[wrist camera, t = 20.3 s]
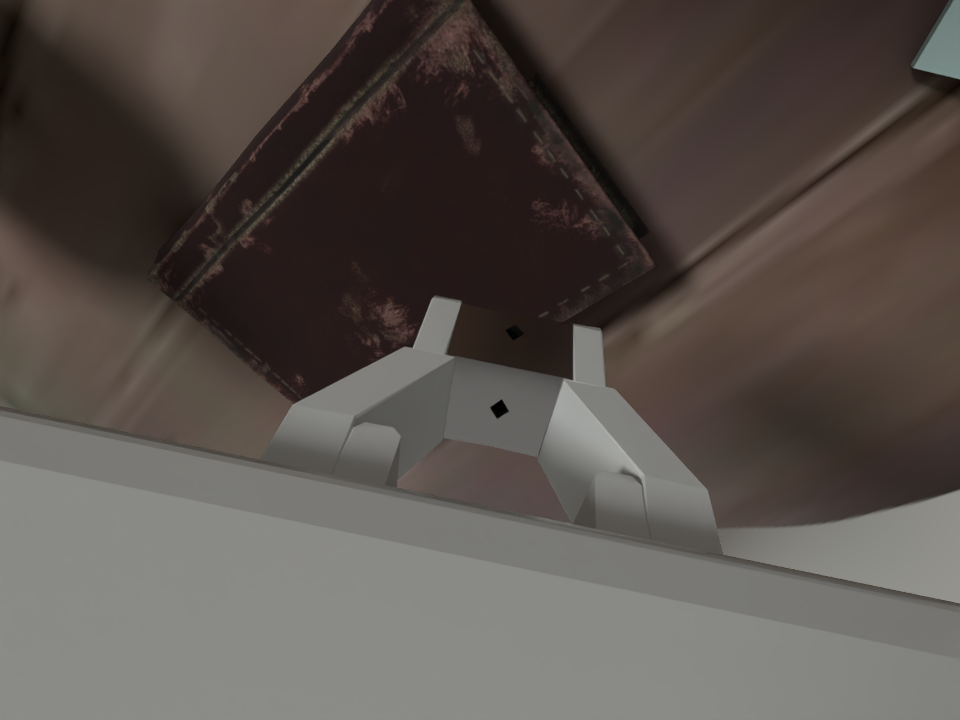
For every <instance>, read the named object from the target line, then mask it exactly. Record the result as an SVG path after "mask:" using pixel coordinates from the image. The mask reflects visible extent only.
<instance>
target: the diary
mask: <svg viewBox="0 0 960 720" xmlns="http://www.w3.org/2000/svg"><path fill="white" fill-rule="evenodd" d="M647 233H649V231H648V229H647V228H646V226H645V225H644V224H643V222H642V221H641V219H640V218H639V217H638V215H637V214H636V212H635V211H634V209H633V208H632V207H631V205H630V204H629V202H628V201H627V200H626V198H625V197H624V195H623V194H622V193H621V191H620V190H619V188H618V187H617V186H616V184H615V183H614V181H613V180H612V179H611V177H610V176H609V174H608V173H607V172H606V170H605V169H604V167H603V166H602V165H601V163H600V162H599V160H598V159H597V157H596V156H595V155H594V153H593V152H592V150H591V149H590V148H589V146H588V145H587V143H586V142H585V141H584V139H583V138H582V136H581V135H580V134H579V132H578V131H577V129H576V128H575V127H574V125H573V124H572V122H571V121H570V120H569V118H568V117H567V115H566V114H565V113H564V111H563V110H562V108H561V107H560V105H559V104H558V103H557V101H556V100H555V98H554V97H553V96H552V94H551V93H550V91H549V90H548V89H547V87H546V86H545V84H544V83H543V82H542V80H541V79H540V77H539V76H538V75H537V73H536V74H535V75H534V76H533V78H532V79H531V80H530V81H529V82H527V80H526V79H525V77H524V76H523V75H522V73H521V72H520V70H519V69H518V67H517V66H516V65H515V63H514V62H513V60H512V59H511V57H510V56H509V54H508V53H507V52H506V50H505V49H504V47H503V46H502V44H501V43H500V42H499V40H498V39H497V37H496V36H495V34H494V33H493V31H492V30H491V29H490V27H489V26H488V24H487V23H486V21H485V20H484V18H483V17H482V16H481V14H480V13H479V11H478V10H477V8H476V7H475V5H474V4H473V3H472V1H471V0H372V1H371V2H370V3H369V5H368V6H367V7H366V8H365V10H364V11H363V12H362V13H361V14H360V16H359V17H358V18H357V19H356V21H355V22H354V23H353V24H352V26H351V27H350V28H349V29H348V31H347V32H346V33H345V34H344V35H343V37H342V38H341V39H340V40H339V42H338V43H337V44H336V45H335V47H334V48H333V49H332V50H331V51H330V53H329V54H328V55H327V56H326V57H325V58H324V59H323V61H322V62H321V63H320V64H319V65H318V66H317V67H316V68H315V70H314V71H313V72H312V73H311V74H310V75H309V76H308V77H307V79H306V80H305V81H304V82H303V83H302V84H301V85H300V87H299V88H298V89H297V90H296V91H295V92H294V93H293V94H292V96H291V97H290V98H289V99H288V100H287V101H286V102H285V103H284V105H283V106H282V107H281V108H280V109H279V110H278V111H277V113H276V114H275V115H274V116H273V117H272V118H271V119H270V120H269V122H268V123H267V124H266V125H265V126H264V127H263V128H262V129H261V131H260V132H259V133H258V134H257V135H256V136H255V138H254V139H253V140H252V142H251V143H250V144H249V145H248V147H247V148H246V149H245V150H244V152H243V153H242V154H241V155H240V157H239V158H238V159H237V160H236V162H235V163H234V164H233V165H232V167H231V168H230V169H229V171H228V172H227V173H226V174H225V176H224V177H223V178H222V179H221V181H220V182H219V183H218V184H217V186H216V187H215V188H214V189H213V191H212V192H211V193H210V194H209V196H208V197H207V198H206V200H205V201H204V202H203V203H202V204H201V205H200V206H199V207H198V208H197V210H196V211H195V212H194V213H193V214H192V215H191V216H190V217H189V218H188V219H187V221H186V222H185V223H184V224H183V225H182V226H181V227H180V228H179V229H178V230H177V231H176V233H175V234H174V235H173V236H172V237H171V238H170V239H169V240H168V241H167V242H166V244H165V245H164V246H163V247H162V248H161V249H160V250H159V252H158V255H157V258H156V260H155V263H154V265H153V267H152V268H151V269H150V270H149V271H148V273H147V278H148V280H149V281H150V282H152V283H153V284H154V285H155V286H156V287H158V288H159V289H160V290H161V291H162V292H164V293H165V294H166V295H167V296H168V297H170V298H171V299H172V300H174V301H177V302H178V305H179V306H180V307H182V308H183V309H184V310H185V311H186V312H188V313H189V314H190V315H191V316H192V317H194V318H195V319H196V320H197V321H198V322H200V323H201V324H202V325H203V326H204V327H206V328H207V329H208V330H209V331H210V332H211V333H212V334H213V335H215V336H216V337H217V338H218V339H219V340H220V341H221V342H222V343H223V344H225V345H226V346H227V347H228V348H229V349H230V350H231V351H232V352H233V353H234V354H236V355H237V356H238V357H239V358H240V359H241V360H242V361H243V362H244V363H246V364H247V365H248V366H249V367H250V368H251V369H252V370H253V371H255V372H256V373H257V374H258V375H259V376H261V377H262V378H263V379H264V380H265V381H267V382H268V383H269V384H270V385H271V386H273V387H274V388H275V389H276V390H277V391H279V392H280V393H281V394H282V395H283V396H285V397H286V398H287V399H288V400H289V401H291V402H292V403H293V404H295V403H297V402H299V401H301V400H303V399H304V398H306V397H308V396H310V395H312V394H314V393H316V392H318V391H320V390H322V389H324V388H326V387H328V386H330V385H332V384H333V383H335V382H337V381H339V380H341V379H343V378H345V377H347V376H349V375H351V374H353V373H355V372H357V371H359V370H360V369H362V368H364V367H366V366H368V365H370V364H372V363H374V362H376V361H378V360H380V359H382V358H384V357H386V356H388V355H389V354H391V353H393V352H395V351H397V350H399V349H401V348H403V347H409V348H413V346H414V343H415V341H416V338H417V336H418V333H419V330H420V328H421V325H422V323H423V320H424V318H425V315H426V312H427V310H428V307H429V305H430V302H431V300H432V298H433V297H434V296H440V297H446V298H451V299H456V300H461V301H462V303H463V301H465V302H469V303H474V304H478V305H483V306H487V307H492V308H496V309H501V310H505V311H510V312H514V313H517V314H520V315H526V316H531V317H537V318H542V319H548V320H553V321H559V322H564V321H566V320H567V319H569V318H571V317H572V316H574V315H576V314H577V313H579V312H581V311H582V310H584V309H586V308H588V307H589V306H591V305H593V304H594V303H596V302H598V301H599V300H601V299H603V298H604V297H606V296H608V295H609V294H611V293H613V292H614V291H616V290H618V289H619V288H621V287H623V286H624V285H626V284H628V283H630V282H631V281H633V280H635V279H636V278H638V277H640V276H641V275H643V274H645V273H646V272H648V271H650V270H651V269H653V268H655V267H656V266H657V264H656V263H655V261H654V260H653V259H652V257H651V256H650V254H649V253H648V251H647V250H646V249H645V247H644V246H643V244H642V243H641V242H640V240H639V238H641V237H643V236H644V235H646V234H647Z"/></svg>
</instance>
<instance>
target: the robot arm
mask: <svg viewBox="0 0 960 720" xmlns="http://www.w3.org/2000/svg"><path fill="white" fill-rule="evenodd" d="M443 438H448V439H453V440H459V441H465V442H470V443H476V444H482V445H487V446H492V447H496V448H501V449H505V450H509V451H514V452H518V453H522V454H527V455H531V456H535V457H538V461H539V463H540V465H541V467H542V469H543V471H544V472H545V474H546V476H547V478H548V480H549V482H550V484H551V486H552V487H553V489H554V491H555V493H556V495H557V497H558V499H559V501H560V503H561V504H562V506H563V508H564V510H565V512H566V514H567V516H568V518H569V519H570V521H571V523H572V524H571V523H566V522H561V521H556V520H551V519H547V518H542V517H537V516H532V515H527V514H522V513H517V512H513V511H508V510H503V509H498V508H493V507H488V506H484V505H479V504H474V503H469V502H464V501H459V500H455V499H450V498H445V497H440V496H435V495H430V494H426V493H421V492H416V491H411V490H406V489H401V488H397V480H398V479H399V478H400V477H401V476H403V475H404V474H405V473H406V472H407V471H408V470H409V469H411V468H412V467H413V466H414V465H415V464H416V463H417V462H418V461H420V460H421V459H422V458H423V457H424V456H425V455H426V454H428V453H429V452H430V451H431V450H432V449H433V448H434V447H435V446H437V445H438V444H439V443H440V442H441V441H442V440H443ZM0 720H960V604H959V603H954V602H950V601H945V600H940V599H935V598H930V597H925V596H920V595H916V594H911V593H906V592H901V591H896V590H891V589H886V588H882V587H877V586H872V585H866V584H862V583H857V582H852V581H847V580H843V579H838V578H833V577H828V576H823V575H818V574H813V573H809V572H804V571H799V570H794V569H789V568H784V567H779V566H775V565H770V564H765V563H760V562H755V561H750V560H745V559H741V558H736V557H731V556H726V555H723V552H722V548H721V544H720V540H719V536H718V532H717V527H716V523H715V519H714V515H713V511H712V506H711V502H710V498H709V494H708V490H707V489H706V488H705V487H704V486H703V485H702V484H701V483H700V481H699V480H698V479H697V478H696V477H695V476H694V475H693V474H692V473H691V472H690V471H689V469H688V468H687V467H686V466H685V465H684V464H683V463H682V462H681V461H680V460H679V459H678V457H677V456H676V455H675V454H674V453H673V452H672V451H671V450H670V449H669V448H668V447H667V445H666V444H665V443H664V442H663V441H662V440H661V439H660V438H659V437H658V436H657V435H656V433H655V432H654V431H653V430H652V429H651V428H650V427H649V426H648V425H647V424H646V423H645V421H644V420H643V419H642V418H641V417H640V416H639V415H638V414H637V413H636V412H635V411H634V409H633V408H632V407H631V406H630V405H629V404H628V403H627V402H626V401H625V400H624V399H623V398H622V396H621V395H620V394H619V393H618V392H617V391H616V390H615V389H612V388H607V385H606V373H605V360H604V348H603V335H602V330H601V329H600V328H596V327H590V326H584V325H578V324H570V323H565V322H559V321H553V320H548V319H542V318H537V317H531V316H526V315H520V314H517V313H514V312H510V311H505V310H501V309H496V308H492V307H487V306H483V305H478V304H474V303H469V302H465V301H463V303H462V301H461V300H456V299H451V298H446V297H440V296H434V297H433V298H432V300H431V302H430V305H429V307H428V310H427V312H426V315H425V318H424V320H423V323H422V325H421V328H420V330H419V333H418V336H417V338H416V341H415V343H414V346H413V348H409V347H403V348H401V349H399V350H397V351H395V352H393V353H391V354H389V355H388V356H386V357H384V358H382V359H380V360H378V361H376V362H374V363H372V364H370V365H368V366H366V367H364V368H362V369H360V370H359V371H357V372H355V373H353V374H351V375H349V376H347V377H345V378H343V379H341V380H339V381H337V382H335V383H333V384H332V385H330V386H328V387H326V388H324V389H322V390H320V391H318V392H316V393H314V394H312V395H310V396H308V397H306V398H304V399H303V400H301V401H299V402H297V403H295V404H293V405H292V407H291V408H290V410H289V412H288V413H287V415H286V417H285V418H284V420H283V422H282V423H281V425H280V427H279V428H278V430H277V432H276V433H275V435H274V436H273V438H272V440H271V441H270V443H269V445H268V446H267V448H266V450H265V451H264V453H263V455H262V456H261V458H260V460H259V459H254V458H249V457H244V456H239V455H234V454H229V453H224V452H220V451H215V450H210V449H205V448H201V447H196V446H191V445H186V444H181V443H177V442H172V441H167V440H162V439H158V438H153V437H148V436H143V435H138V434H134V433H129V432H124V431H119V430H114V429H109V428H104V427H100V426H95V425H90V424H85V423H80V422H75V421H70V420H66V419H61V418H56V417H51V416H46V415H41V414H36V413H31V412H27V411H22V410H17V409H12V408H7V407H2V406H0Z"/></svg>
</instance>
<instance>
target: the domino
mask: <svg viewBox="0 0 960 720" xmlns="http://www.w3.org/2000/svg"><path fill="white" fill-rule="evenodd" d="M910 66H911V67H912V68H915V69H919V70H923V71H927V72H932V73H936V74H940V75H944V76H948V77H953V78H957V79H960V0H949V1H948V3H947V4H946V6H945V8H944V9H943V11H942V13H941V14H940V16H939V18H938V19H937V21H936V23H935V24H934V26H933V28H932V29H931V31H930V33H929V35H928V36H927V38H926V40H925V41H924V43H923V45H922V46H921V48H920V50H919V51H918V53H917V55H916V56H915V58H914V60H913V61H912V63H911V65H910Z"/></svg>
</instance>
